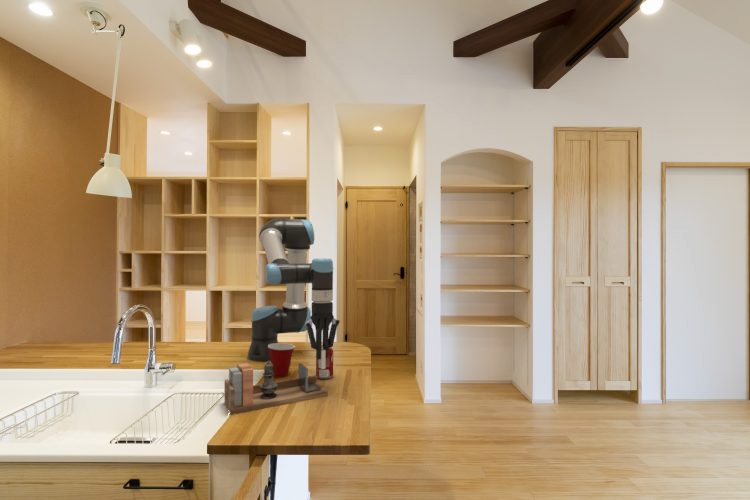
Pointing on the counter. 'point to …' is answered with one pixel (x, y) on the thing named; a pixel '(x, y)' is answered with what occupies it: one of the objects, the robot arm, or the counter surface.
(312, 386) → the bookend
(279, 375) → the plastic cup
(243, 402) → the wooden book rack
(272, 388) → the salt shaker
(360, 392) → the counter surface
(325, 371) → the soda can
